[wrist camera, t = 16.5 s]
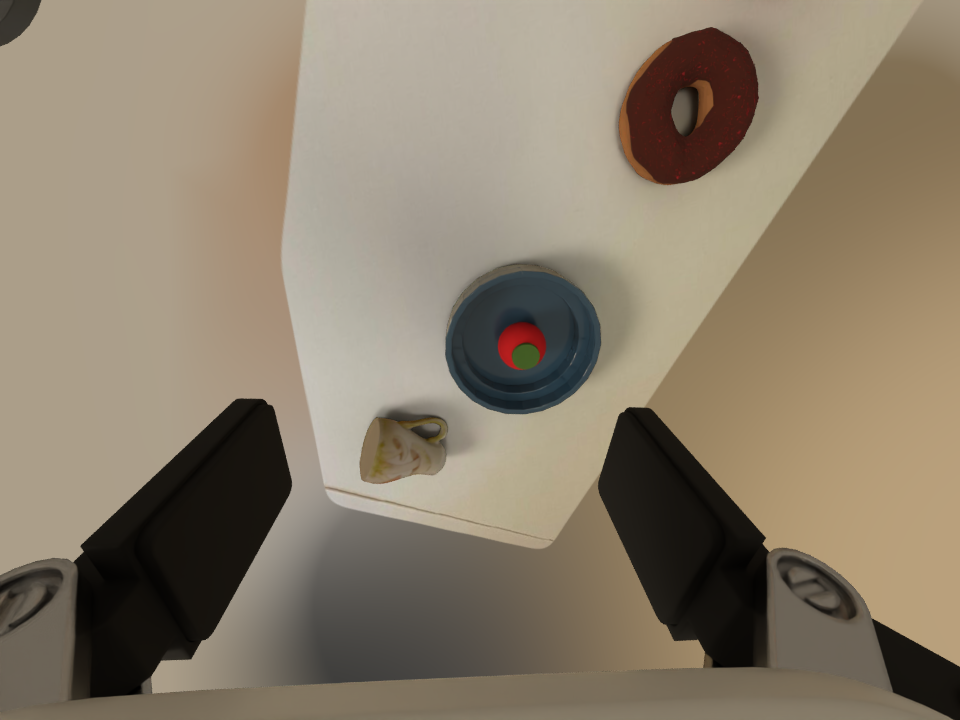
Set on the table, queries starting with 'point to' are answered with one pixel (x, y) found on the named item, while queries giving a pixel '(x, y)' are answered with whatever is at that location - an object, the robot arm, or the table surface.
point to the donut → (721, 111)
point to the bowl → (532, 301)
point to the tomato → (522, 345)
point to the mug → (400, 450)
